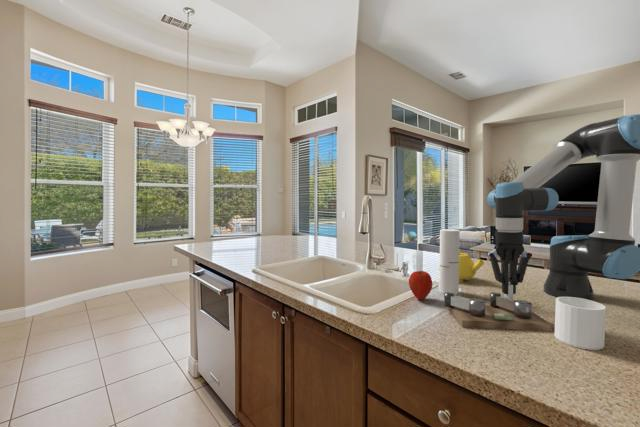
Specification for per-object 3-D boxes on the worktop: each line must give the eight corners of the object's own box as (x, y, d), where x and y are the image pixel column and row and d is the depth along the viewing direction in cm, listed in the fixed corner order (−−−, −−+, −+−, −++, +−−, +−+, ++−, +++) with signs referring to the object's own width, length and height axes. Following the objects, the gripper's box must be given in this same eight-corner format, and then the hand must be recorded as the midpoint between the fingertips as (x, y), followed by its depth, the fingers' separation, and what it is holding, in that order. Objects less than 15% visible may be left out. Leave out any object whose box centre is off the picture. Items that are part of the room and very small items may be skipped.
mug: (603, 355, 73) (605, 313, 73) (551, 341, 80) (552, 303, 80) (605, 337, 82) (607, 300, 82) (558, 326, 89) (560, 292, 89)
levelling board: (523, 312, 100) (524, 301, 100) (550, 330, 86) (551, 317, 86) (447, 309, 103) (448, 298, 103) (462, 327, 89) (462, 314, 89)
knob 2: (534, 316, 91) (535, 303, 90) (525, 319, 89) (525, 305, 89) (495, 303, 102) (495, 291, 102) (486, 305, 101) (486, 293, 100)
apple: (415, 294, 120) (415, 267, 119) (436, 299, 114) (436, 270, 113) (404, 299, 114) (404, 270, 113) (425, 304, 108) (426, 274, 107)
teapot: (492, 282, 136) (493, 251, 135) (473, 288, 127) (474, 255, 126) (450, 273, 152) (451, 246, 152) (431, 278, 143) (432, 249, 143)
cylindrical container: (460, 295, 118) (461, 231, 117) (440, 294, 120) (441, 230, 118) (456, 289, 125) (457, 229, 124) (437, 289, 126) (438, 229, 125)
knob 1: (487, 314, 93) (488, 301, 93) (481, 317, 90) (481, 304, 90) (448, 303, 103) (448, 291, 103) (441, 306, 100) (441, 294, 100)
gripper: (524, 229, 100) (523, 300, 101) (483, 229, 102) (483, 299, 103) (537, 231, 93) (537, 308, 94) (493, 232, 94) (493, 307, 95)
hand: (508, 303), depth 98 cm, fingers closed
